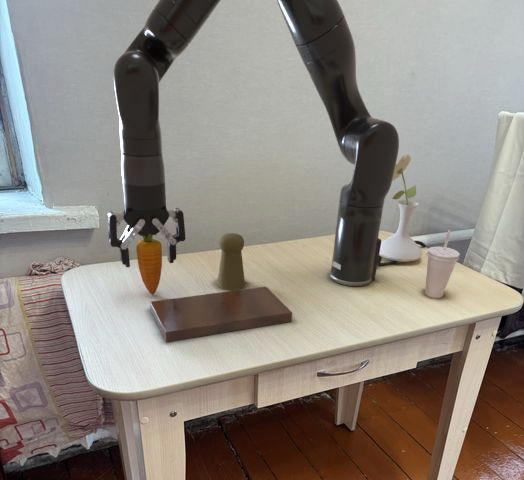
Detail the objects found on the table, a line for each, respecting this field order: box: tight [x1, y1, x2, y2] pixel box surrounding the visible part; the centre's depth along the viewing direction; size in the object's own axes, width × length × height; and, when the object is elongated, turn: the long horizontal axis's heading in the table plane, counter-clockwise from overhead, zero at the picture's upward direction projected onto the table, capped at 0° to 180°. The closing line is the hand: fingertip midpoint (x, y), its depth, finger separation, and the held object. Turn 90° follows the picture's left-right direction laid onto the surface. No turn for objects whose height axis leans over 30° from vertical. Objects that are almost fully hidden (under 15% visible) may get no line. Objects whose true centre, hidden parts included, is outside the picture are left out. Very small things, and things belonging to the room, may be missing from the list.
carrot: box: [135, 229, 163, 296], centre depth 99 cm, size 5×5×15 cm
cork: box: [216, 232, 246, 291], centre depth 106 cm, size 6×6×11 cm
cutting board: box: [149, 285, 293, 343], centre depth 95 cm, size 24×12×2 cm, turn 113°
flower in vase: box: [379, 153, 423, 263], centre depth 121 cm, size 13×11×25 cm
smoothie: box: [424, 229, 461, 299], centre depth 105 cm, size 6×6×14 cm
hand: (149, 263), depth 99 cm, fingers open, 8 cm apart
